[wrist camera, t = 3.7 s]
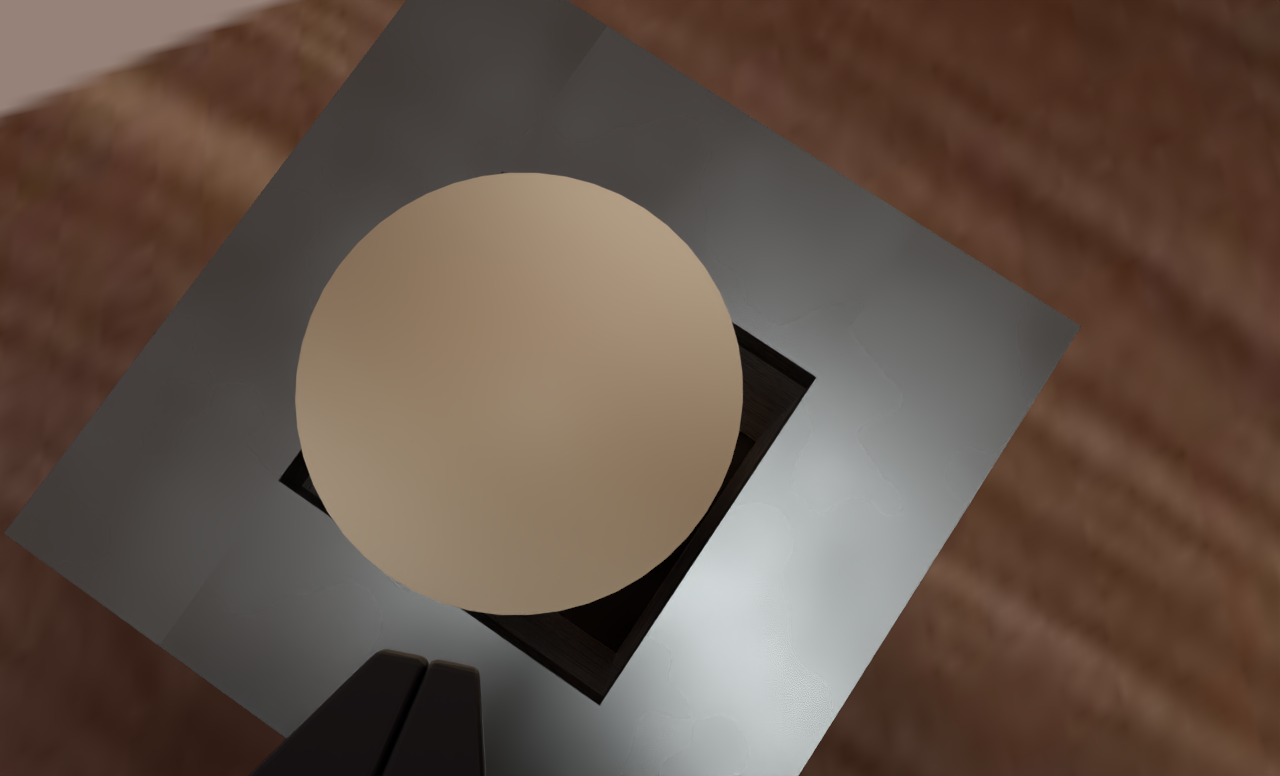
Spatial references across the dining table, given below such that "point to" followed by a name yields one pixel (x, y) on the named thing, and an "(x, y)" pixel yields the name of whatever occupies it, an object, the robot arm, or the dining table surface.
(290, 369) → the collar
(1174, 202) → the dining table surface
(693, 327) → the peg
